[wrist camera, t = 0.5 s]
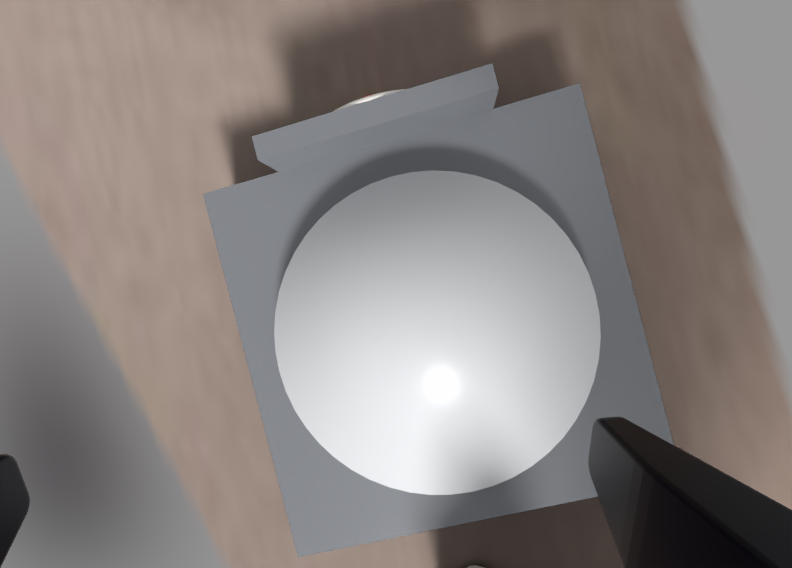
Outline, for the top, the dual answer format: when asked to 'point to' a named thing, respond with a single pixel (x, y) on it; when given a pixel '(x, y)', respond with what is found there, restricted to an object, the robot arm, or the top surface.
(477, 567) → the eye dropper bottle
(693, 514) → the robot arm
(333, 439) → the dial scale
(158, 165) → the top surface
